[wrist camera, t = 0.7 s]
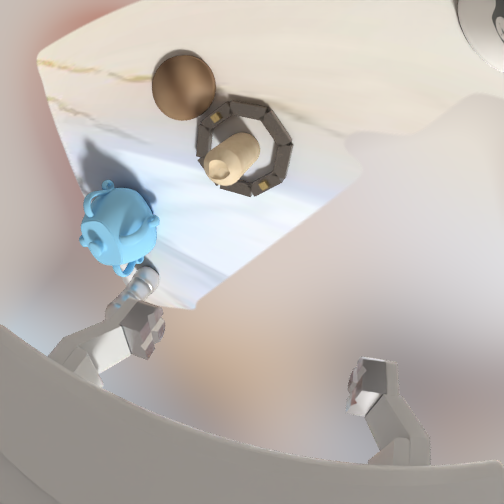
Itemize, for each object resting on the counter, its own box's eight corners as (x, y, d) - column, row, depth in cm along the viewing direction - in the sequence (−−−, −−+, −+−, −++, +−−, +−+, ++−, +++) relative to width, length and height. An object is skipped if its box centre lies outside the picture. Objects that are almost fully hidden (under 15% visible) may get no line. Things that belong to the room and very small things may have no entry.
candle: (241, 170, 48) (216, 197, 40) (220, 144, 46) (191, 165, 39) (267, 153, 45) (246, 177, 37) (246, 125, 43) (219, 142, 35)
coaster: (189, 41, 37) (185, 41, 36) (229, 93, 41) (226, 94, 40) (145, 83, 43) (141, 84, 42) (181, 131, 47) (177, 133, 46)
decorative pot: (177, 216, 58) (138, 256, 48) (148, 257, 68) (115, 295, 58) (119, 165, 55) (72, 195, 45) (99, 213, 65) (61, 245, 55)
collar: (253, 84, 39) (249, 85, 37) (309, 166, 44) (307, 170, 43) (184, 135, 47) (178, 138, 46) (235, 205, 52) (231, 210, 51)
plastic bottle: (164, 271, 69) (116, 333, 54) (161, 288, 73) (117, 347, 58) (142, 258, 69) (91, 316, 54) (140, 276, 74) (94, 331, 58)
